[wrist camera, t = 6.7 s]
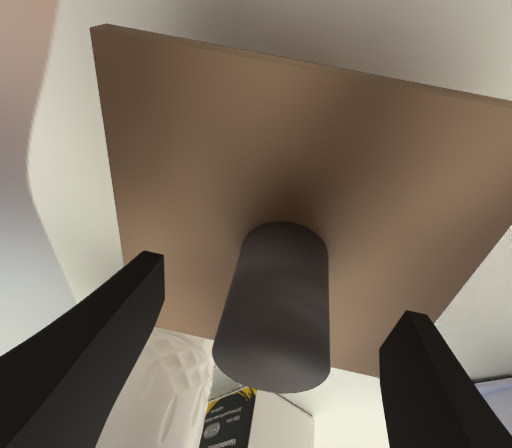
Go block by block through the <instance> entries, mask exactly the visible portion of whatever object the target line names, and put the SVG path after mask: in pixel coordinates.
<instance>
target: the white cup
mask: <svg viewBox="0 0 512 448" xmlns="http://www.w3.org/2000/svg"><path fill="white" fill-rule="evenodd" d="M213 343H214V340H210V339H206V338H201V337H197V336H193V335H188V334H184V333H179V332H175V331H171V330H166V329H162V328H157V327H154V329H153V331H152V333H151V335H150V337H149V339H148V341H147V343H146V345H145V347H144V349H143V351H142V352H141V354H140V356H139V358H138V360H137V362H136V364H135V366H134V368H133V369H132V371H131V373H130V375H129V377H128V379H127V381H126V383H125V385H124V386H123V388H122V390H121V392H120V394H119V396H118V398H117V400H116V402H115V404H114V406H113V408H112V410H111V412H110V414H109V416H108V418H107V421H106V423H105V425H104V428H103V430H102V432H101V435H100V437H99V440H98V442H97V444H96V447H95V448H199V444H200V440H201V435H202V431H203V426H204V422H205V415H206V411H207V406H208V401H209V396H210V391H211V387H212V382H213V370H214V366H215V362H214V359H213V356H212V347H213Z"/></svg>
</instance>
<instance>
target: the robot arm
mask: <svg viewBox="0 0 512 448" xmlns="http://www.w3.org/2000/svg"><path fill="white" fill-rule="evenodd" d="M164 301H165V275H164V255H163V254H158V253H154V252H149V251H145V250H144V251H142V252H140V253H139V254H138V255H137V256H136V257H135V258H133V259H132V260H131V261H130V262H129V263H128V264H127V265H125V266H124V267H123V268H122V269H121V270H119V271H118V272H117V273H116V274H115V275H113V276H112V277H111V278H110V279H109V280H107V281H106V282H105V283H104V284H103V285H101V286H100V287H99V288H97V289H96V290H95V291H94V292H92V293H91V294H90V295H89V296H87V297H86V298H85V299H84V300H82V301H81V302H80V303H78V304H77V305H76V306H74V307H73V308H72V309H70V310H69V311H67V312H66V313H65V314H63V315H62V316H61V317H59V318H58V319H56V320H55V321H54V322H52V323H51V324H50V325H48V326H47V327H45V328H44V329H42V330H41V331H39V332H38V333H36V334H35V335H33V336H32V337H30V338H29V339H27V340H26V341H24V342H23V343H21V344H19V345H18V346H17V347H15V348H13V349H11V350H10V351H9V352H7V353H5V354H4V355H2V356H0V448H95V447H96V444H97V442H98V440H99V437H100V435H101V432H102V430H103V428H104V425H105V423H106V421H107V418H108V416H109V414H110V412H111V410H112V408H113V406H114V404H115V402H116V400H117V398H118V396H119V394H120V392H121V390H122V388H123V386H124V385H125V383H126V381H127V379H128V377H129V375H130V373H131V371H132V369H133V368H134V366H135V364H136V362H137V360H138V358H139V356H140V354H141V352H142V351H143V349H144V347H145V345H146V343H147V341H148V339H149V337H150V335H151V333H152V331H153V329H154V326H155V324H156V322H157V319H158V317H159V314H160V311H161V309H162V306H163V303H164ZM379 371H380V387H381V394H382V401H383V407H384V414H385V420H386V427H387V433H388V439H389V446H390V448H512V378H506V379H500V380H494V381H488V382H481V383H475V384H474V383H473V382H472V380H471V379H470V378H469V376H468V375H467V373H466V372H465V370H464V369H463V367H462V366H461V364H460V363H459V361H458V360H457V358H456V357H455V355H454V354H453V352H452V351H451V349H450V348H449V346H448V345H447V343H446V342H445V340H444V339H443V337H442V336H441V334H440V333H439V331H438V330H437V328H436V327H435V325H434V324H433V322H432V321H431V319H430V318H429V316H428V315H427V314H422V313H418V312H413V311H409V310H406V311H405V312H404V314H403V315H402V316H401V318H400V319H399V321H398V322H397V324H396V325H395V327H394V328H393V329H392V331H391V332H390V334H389V335H388V337H387V338H386V340H385V341H384V342H383V344H382V345H381V347H380V348H379Z"/></svg>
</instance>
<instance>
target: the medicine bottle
mask: <svg viewBox="0 0 512 448" xmlns="http://www.w3.org/2000/svg"><path fill="white" fill-rule="evenodd" d="M199 448H314V419H313V417H312V416H310V415H308V414H307V413H305V412H304V411H302V410H301V409H299V408H297V407H296V406H294V405H293V404H291V403H290V402H288V401H286V400H285V399H283V398H282V397H280V396H279V395H277V394H276V393H272V392H266V391H261V390H257V389H253V388H250V387H247V386H246V387H243V388H241V389H238V390H236V391H233V392H231V393H229V394H226V395H224V396H221V397H219V398H216V399H214V400H211V401H209V402H208V406H207V411H206V415H205V422H204V426H203V431H202V435H201V440H200V444H199Z"/></svg>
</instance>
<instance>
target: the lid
mask: <svg viewBox="0 0 512 448" xmlns="http://www.w3.org/2000/svg"><path fill="white" fill-rule="evenodd" d="M90 34H91V41H92V47H93V54H94V61H95V68H96V75H97V82H98V89H99V96H100V102H101V109H102V116H103V123H104V130H105V137H106V144H107V150H108V157H109V164H110V171H111V178H112V185H113V192H114V199H115V205H116V212H117V219H118V226H119V233H120V240H121V247H122V254H123V260H124V266H125V265H127V264H128V263H129V262H130V261H131V260H132V259H133V258H135V257H136V256H137V255H138V254H139V253H140V252H142V251H144V250H145V251H149V252H154V253H158V254H163V255H164V275H165V301H164V303H163V306H162V309H161V311H160V314H159V317H158V319H157V322H156V324H155V326H154V327H157V328H162V329H166V330H171V331H175V332H179V333H184V334H188V335H193V336H197V337H201V338H206V339H210V340H214V343H213V347H212V356H213V359H214V362H215V363H216V365H217V366H218V368H219V369H220V370H221V371H222V372H223V373H224V374H226V375H227V376H228V377H230V378H231V379H233V380H235V381H236V382H238V383H240V384H243V385H245V386H247V387H250V388H253V389H257V390H261V391H266V392H272V393H297V392H303V391H307V390H310V389H313V388H315V387H317V386H318V385H320V384H321V383H323V382H324V381H325V380H326V378H327V377H328V375H329V373H330V367H334V368H338V369H342V370H347V371H351V372H356V373H360V374H365V375H369V376H373V377H378V378H380V371H379V348H380V347H381V345H382V344H383V342H384V341H385V340H386V338H387V337H388V335H389V334H390V332H391V331H392V329H393V328H394V327H395V325H396V324H397V322H398V321H399V319H400V318H401V316H402V315H403V314H404V312H405V311H406V310H409V311H413V312H418V313H422V314H427V315H428V316H429V318H430V319H431V321H432V322H433V324H434V323H435V322H436V320H437V319H438V318H439V316H440V315H441V314H442V313H443V311H444V310H445V309H446V308H447V306H448V305H449V304H450V302H451V301H452V300H453V299H454V297H455V296H456V295H457V294H458V292H459V291H460V290H461V288H462V287H463V286H464V285H465V283H466V282H467V281H468V279H469V278H470V277H471V276H472V274H473V273H474V272H475V271H476V269H477V268H478V267H479V265H480V264H481V263H482V262H483V260H484V259H485V258H486V257H487V255H488V254H489V253H490V251H491V250H492V249H493V248H494V246H495V245H496V244H497V242H498V241H499V240H500V239H501V237H502V236H503V235H504V234H505V232H506V231H507V230H508V228H509V227H510V226H511V225H512V101H509V100H504V99H499V98H493V97H488V96H483V95H478V94H472V93H467V92H462V91H457V90H451V89H446V88H441V87H436V86H430V85H425V84H420V83H415V82H409V81H404V80H399V79H394V78H389V77H383V76H378V75H373V74H368V73H362V72H357V71H352V70H347V69H341V68H336V67H331V66H326V65H320V64H315V63H310V62H305V61H300V60H294V59H289V58H284V57H279V56H273V55H268V54H263V53H258V52H252V51H247V50H242V49H237V48H231V47H226V46H221V45H216V44H210V43H205V42H200V41H195V40H190V39H184V38H179V37H174V36H169V35H163V34H158V33H153V32H148V31H142V30H137V29H132V28H127V27H121V26H116V25H111V24H103V25H99V26H95V27H90Z"/></svg>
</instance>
